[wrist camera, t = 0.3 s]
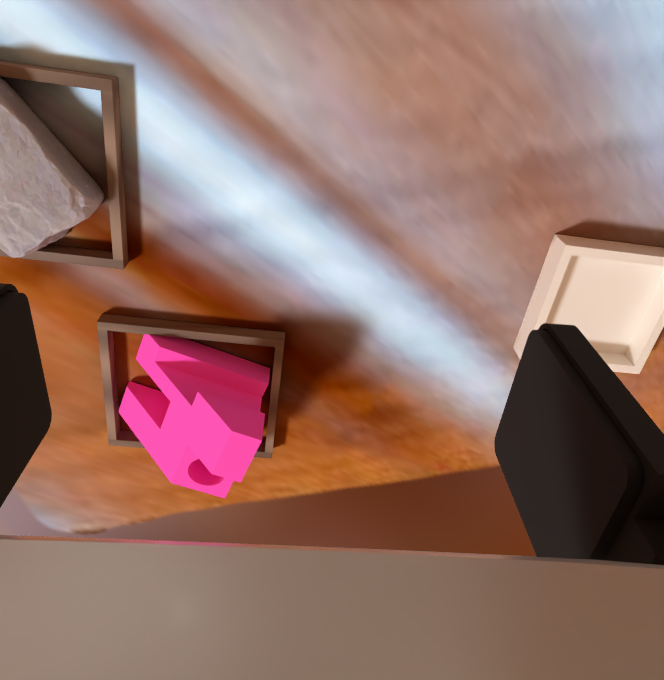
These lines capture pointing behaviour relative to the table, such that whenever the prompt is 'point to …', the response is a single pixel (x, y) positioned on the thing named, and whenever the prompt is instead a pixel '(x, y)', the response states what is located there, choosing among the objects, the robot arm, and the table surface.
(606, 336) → the tray
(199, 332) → the brown wooden square tray
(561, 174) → the table surface
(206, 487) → the bracket
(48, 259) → the brown rectangular frame
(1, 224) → the stone block
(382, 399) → the table surface
